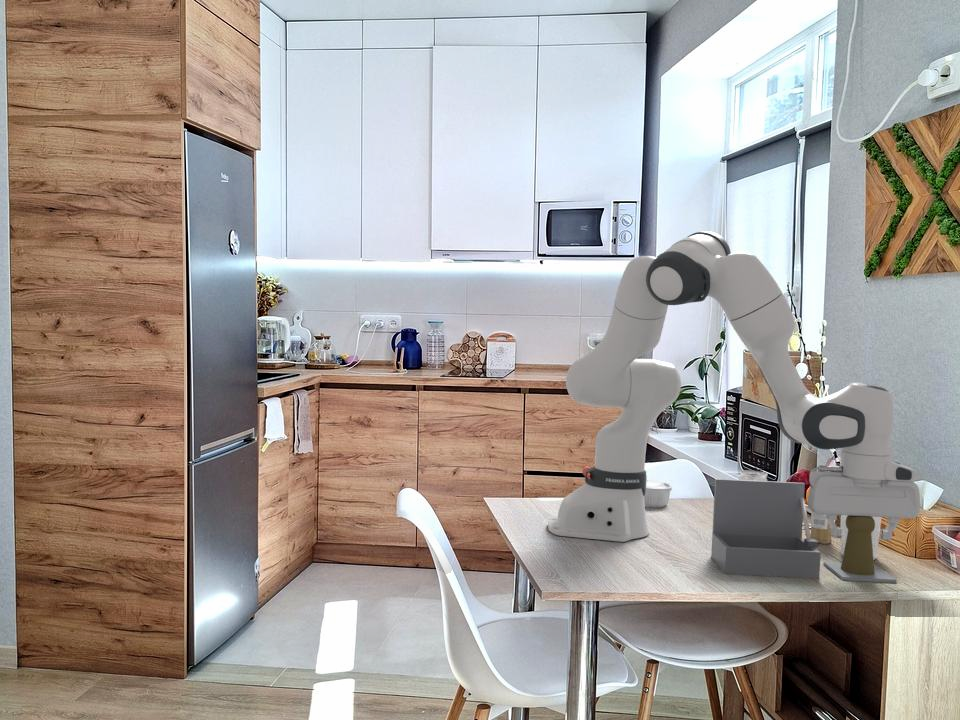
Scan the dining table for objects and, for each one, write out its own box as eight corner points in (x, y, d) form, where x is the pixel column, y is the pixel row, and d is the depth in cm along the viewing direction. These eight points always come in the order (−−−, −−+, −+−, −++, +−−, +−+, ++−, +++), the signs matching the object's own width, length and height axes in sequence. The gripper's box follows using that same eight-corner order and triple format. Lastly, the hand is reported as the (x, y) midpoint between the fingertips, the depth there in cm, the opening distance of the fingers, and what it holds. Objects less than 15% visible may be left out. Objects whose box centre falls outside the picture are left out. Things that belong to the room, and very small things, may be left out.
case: (724, 573, 160) (729, 490, 160) (711, 556, 172) (715, 478, 171) (822, 578, 160) (827, 494, 159) (802, 561, 171) (806, 482, 170)
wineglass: (743, 525, 200) (746, 475, 200) (731, 518, 207) (733, 470, 207) (770, 525, 201) (773, 475, 201) (757, 518, 208) (759, 470, 208)
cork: (872, 577, 160) (876, 519, 159) (838, 571, 163) (841, 514, 162) (876, 569, 165) (879, 513, 164) (842, 564, 168) (845, 509, 167)
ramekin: (675, 509, 216) (676, 489, 216) (631, 508, 216) (632, 487, 215) (665, 500, 227) (666, 480, 227) (623, 498, 227) (624, 479, 227)
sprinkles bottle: (835, 542, 187) (839, 482, 186) (823, 545, 185) (826, 484, 184) (817, 538, 191) (820, 479, 190) (804, 540, 188) (808, 480, 188)
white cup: (863, 551, 181) (866, 504, 181) (887, 561, 173) (890, 513, 173) (830, 551, 180) (832, 504, 179) (852, 562, 172) (855, 513, 172)
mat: (842, 580, 159) (842, 576, 159) (823, 564, 169) (823, 561, 169) (896, 582, 159) (896, 579, 159) (874, 567, 169) (874, 564, 169)
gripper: (815, 467, 160) (811, 539, 161) (926, 472, 159) (921, 545, 160) (804, 462, 167) (800, 531, 167) (910, 467, 166) (906, 536, 166)
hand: (860, 538), depth 164 cm, fingers open, 8 cm apart
